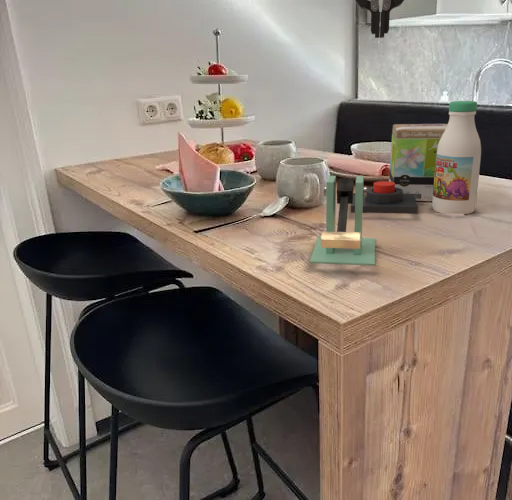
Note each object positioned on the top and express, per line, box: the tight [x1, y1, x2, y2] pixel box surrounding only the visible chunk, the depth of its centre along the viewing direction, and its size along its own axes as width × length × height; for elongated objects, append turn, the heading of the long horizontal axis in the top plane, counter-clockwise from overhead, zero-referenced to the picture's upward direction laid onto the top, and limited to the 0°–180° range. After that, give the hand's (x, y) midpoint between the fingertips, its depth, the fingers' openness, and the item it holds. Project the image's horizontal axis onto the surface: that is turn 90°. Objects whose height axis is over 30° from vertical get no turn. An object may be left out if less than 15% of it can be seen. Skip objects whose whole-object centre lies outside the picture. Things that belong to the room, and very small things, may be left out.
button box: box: [350, 186, 419, 215], centre depth 97 cm, size 12×10×4 cm
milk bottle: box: [431, 100, 482, 215], centre depth 92 cm, size 8×8×20 cm
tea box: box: [388, 123, 448, 202], centre depth 103 cm, size 15×10×15 cm, turn 80°
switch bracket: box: [309, 175, 376, 267], centre depth 73 cm, size 11×9×12 cm
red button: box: [372, 180, 395, 193], centre depth 96 cm, size 4×4×2 cm
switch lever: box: [320, 178, 361, 249], centre depth 68 cm, size 12×5×2 cm, turn 167°
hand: (379, 37), depth 80 cm, fingers closed
